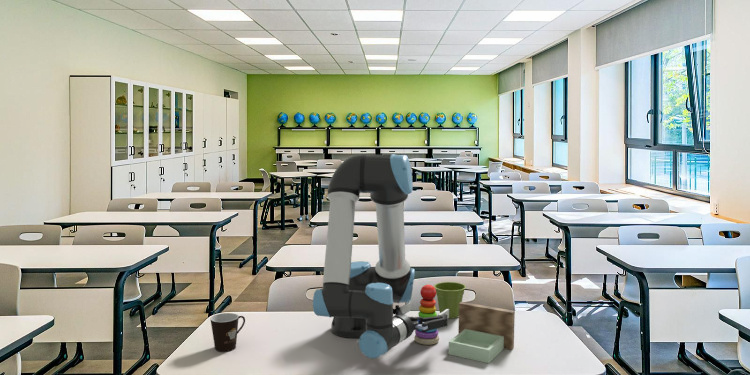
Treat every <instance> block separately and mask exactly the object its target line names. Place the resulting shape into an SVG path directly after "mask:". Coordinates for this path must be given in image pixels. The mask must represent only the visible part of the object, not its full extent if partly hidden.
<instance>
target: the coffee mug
mask: <svg viewBox="0 0 750 375" xmlns="http://www.w3.org/2000/svg"><path fill="white" fill-rule="evenodd" d="M240 319H242V324H241V326H240V327H239V320H240ZM210 323H211V324H210V325H211V332H212V337H213V345H214V350H215V351H216V352H218V353H227V352H231V351H234V350H236V348H237V339H238V334H239V333H240V331H241V330H242V329H243V328H244V326H245V324H246V318H245V316H243V315H239V314H237V313H233V312H222V313H218V314H214V315H213V316H211V317H210Z"/></svg>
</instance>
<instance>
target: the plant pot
mask: <svg viewBox="0 0 750 375" xmlns="http://www.w3.org/2000/svg"><path fill="white" fill-rule="evenodd" d="M433 287H434V288H435V289H436V297H437V304H438V309H439V314H440V313H441V312H443V311H445V310H446V309H449V318H448V319H457V318H459V303H460V302H463V297H464V294H465V289H466V288H467V286H466V285H465V284H464V283H461V282H454V281H442V282H437V283H435V284H434V285H433Z"/></svg>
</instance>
